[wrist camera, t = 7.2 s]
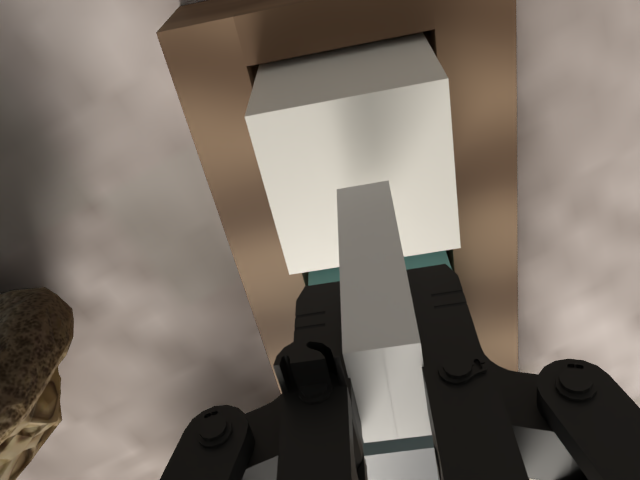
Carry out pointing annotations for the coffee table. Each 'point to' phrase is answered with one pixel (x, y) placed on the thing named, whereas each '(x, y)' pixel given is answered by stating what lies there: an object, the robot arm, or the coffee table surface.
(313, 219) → the white key
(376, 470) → the charcoal key
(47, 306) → the carved stone sculpture
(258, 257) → the frame
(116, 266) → the coffee table surface
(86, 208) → the coffee table surface
